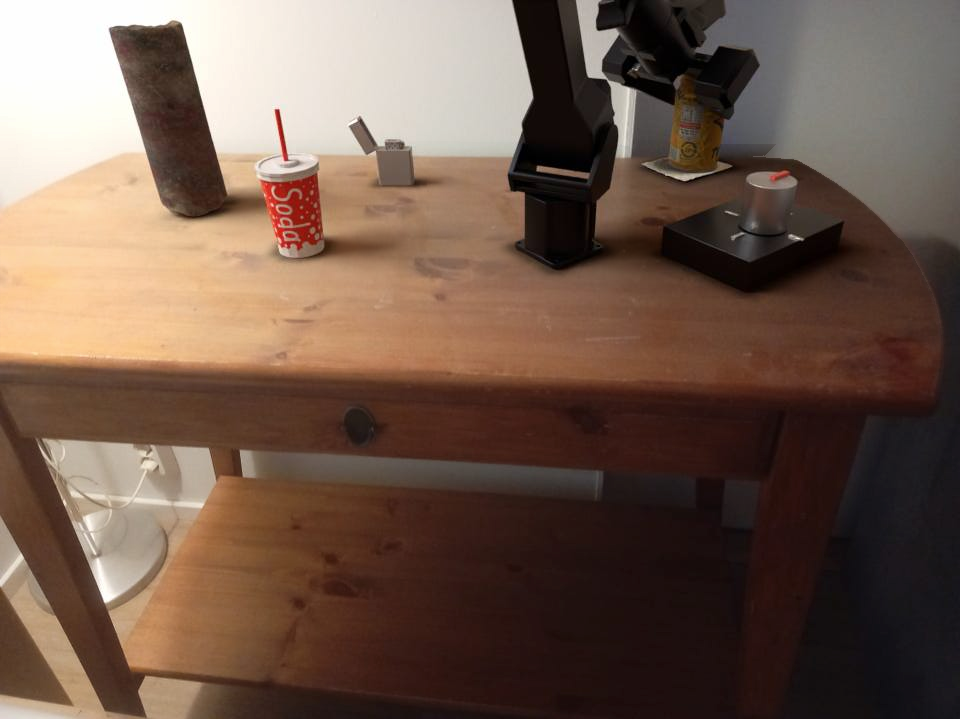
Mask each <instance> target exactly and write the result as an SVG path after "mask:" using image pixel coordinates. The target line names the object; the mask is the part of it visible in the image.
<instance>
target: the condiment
mask: <svg viewBox="0 0 960 719" xmlns="http://www.w3.org/2000/svg"><path fill="white" fill-rule="evenodd" d="M697 78H698V77H695V76H690V75H686V74H682V75H681V76H680V80H679V82H680V84H679V85H678V87H677V88H676V97H675V106H673V115H672V124H671V134H670V142H669V148H668V150H669V151H668V156H667V157H661V158H659V159H655V160H652V161H646V162H643V163H641V165H642V166H645V167H646V168H649V169H650V170H653V171H655V172H657V173H660V174H663V175H665V177H666V176H669V177H671V178H674V179H676V180H680V181H683V182H687V181H689V180H694V179H695V178H699V177H702V176H707V175H711V174H714V173H717V172H721V171H725V170H727V169H729V168H732V167H733V165H731V164H729V163H727V162H726V163H724V162H722V161H719V157H720V152H721V146H722V140H723V132H724V127H725V121H726V119H724V118H722V117H720V116H718V115H716V114H714V113H712V112H711V111H709V110H707V109H705V108H703V107H701V106H699V105H697V103H698V101H699V100H698V99H697V98H696V96H695V94H694V89H695V81H696V80H697Z"/></svg>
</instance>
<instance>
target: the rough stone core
mask: <svg viewBox="0 0 960 719" xmlns="http://www.w3.org/2000/svg"><path fill="white" fill-rule="evenodd" d="M108 32H109V36H110V39H111V42H112V46H113V49H114V52H115V55H116V56H115V57H116V58H117V61H118V62H117V63H118V64H119V68H120V72H121V75H122V77H123V81H124V83H125V87H126V90H127V93H128V98H129V100H130V103H131V106H132V111H133V113H134V117H135V120H136V123H137V126H138V129H139V133H140V137H141V140H142V144H143V147H144V150H145V153H146V157H147V161H148V164H149V167H150V171H151V174H152V177H153V178H152V179H153V181H154V184H155V187H156V190H157V193H158V197H159V199H160V203H161V204H162V206H164V207H165V208H166V209H167V210H168V211H169V212H173V213H178V214H181V215H186V216H187V217H200V216H204V215H206V214H209V213H210V212H211V211H214V210H217V209H220V208H221V207H222V205H223V204H224V202H225V200H226V199H227V198H228V192H227V188H226V184H225V179H224V176H223V172H222V169H221V166H220V162H219V158H218V154H217V151H216V146H215V144H214V140H213V137H212V132H211V129H210V125H209V120H208V118H207V114H206V110H205V106H204V102H203V99H202V94H201V91H200V86H199V83H198V80H197V79H198V78H197V76H196V71H195V68H194V64H193V60H192V57H191V52H190V49H189V46H188V41H187V37H186V34H185V30H184V26H183V23H182V22H181V21H178V20H176V19H172V20H170V21H168V23H166V24H159V25H142V24H130V25H115V26H110V27H108Z"/></svg>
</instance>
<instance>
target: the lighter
mask: <svg viewBox="0 0 960 719" xmlns="http://www.w3.org/2000/svg"><path fill="white" fill-rule="evenodd" d="M347 126H348V128H349V130H350V131H351V133H352V134H353V136H354V138H355V140H356V141H357V143H358V144H359V146H360V148H361V149H362V151H363V152H364V154H365V155H366V156H369V155H370V154H372V153H374V152H375V156H376V164H377V165H376V166H377V174H378V183H379V186H413V185H414V183H415V182H416V180H415V169H414V156H413V155H414V154H413V147H412V145H406V144H405V141H403V140H402V139H401V138H386V139H385V140H384V145H378V143H377V141H376V140H375V138H374V136H373V135H372V133H371V131H370V130H369V128H368V126H367V124H366V123H365V121H364V119H363V118H362V116H361V115H358V116H356V117H355V118H353V119H350V120H349V121H348V123H347Z"/></svg>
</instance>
